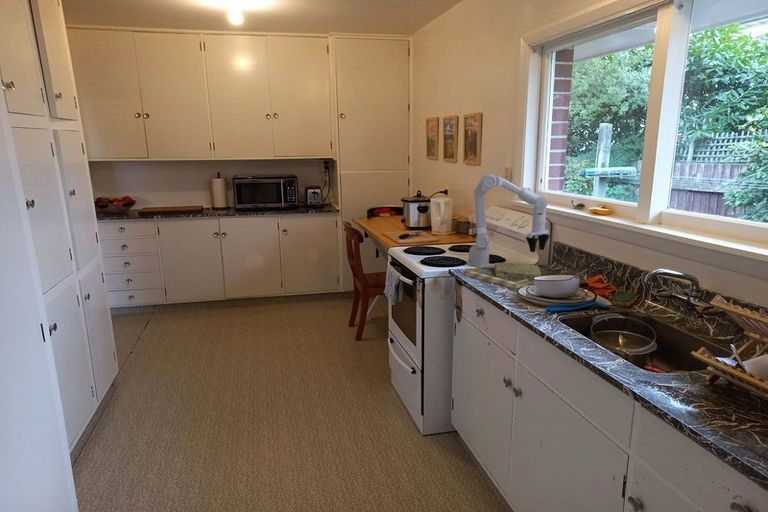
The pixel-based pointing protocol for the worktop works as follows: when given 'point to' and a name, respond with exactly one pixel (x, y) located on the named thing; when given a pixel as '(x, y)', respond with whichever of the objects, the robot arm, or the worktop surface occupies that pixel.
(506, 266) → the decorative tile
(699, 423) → the worktop surface
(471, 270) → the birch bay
